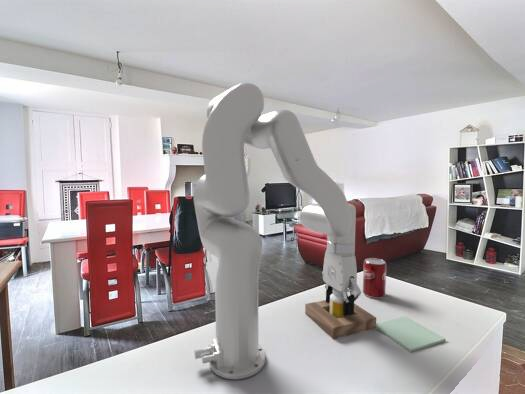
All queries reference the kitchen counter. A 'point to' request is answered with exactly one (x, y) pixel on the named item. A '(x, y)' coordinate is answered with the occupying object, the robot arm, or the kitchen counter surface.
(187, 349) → the kitchen counter surface
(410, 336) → the place mat
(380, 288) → the soda can
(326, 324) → the block
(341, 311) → the supplement bottle
